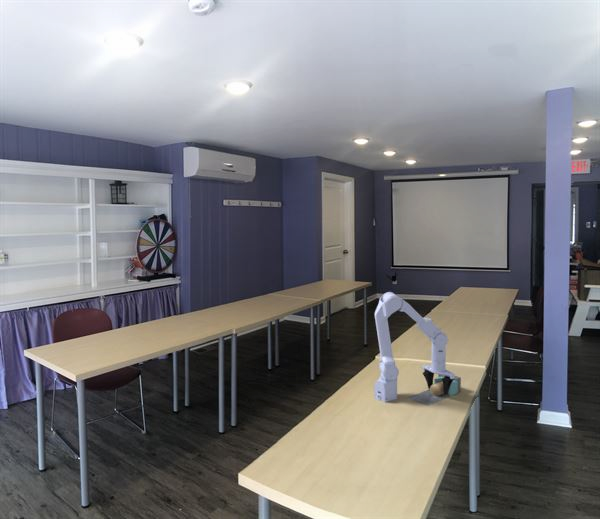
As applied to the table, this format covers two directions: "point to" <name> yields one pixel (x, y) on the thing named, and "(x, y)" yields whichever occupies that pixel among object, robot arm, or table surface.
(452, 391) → the teal arch
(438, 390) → the dowel
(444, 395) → the board
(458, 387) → the backstop wall
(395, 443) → the table surface
